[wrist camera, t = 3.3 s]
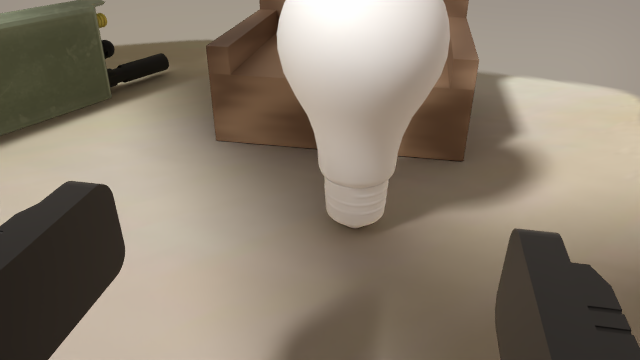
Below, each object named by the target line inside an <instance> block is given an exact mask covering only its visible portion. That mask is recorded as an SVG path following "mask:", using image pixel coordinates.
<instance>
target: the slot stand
mask: <svg viewBox="0 0 640 360" xmlns="http://www.w3.org/2000/svg"><path fill="white" fill-rule="evenodd" d="M443 1H444V3H445V6H446V10H447V15H448V19H449V29H450V41H449V49H448V57H447V60H446V62H445V65H444V68H443V71H442V73H441V76H440V77H439V79H438V81H437V82H436V84H435V85H434V87H433V89H432V90H431V92H430V93H429V95H428V97H427V98H426V100H425V101H424V102H423V104H422V105H421V106H420V108H419V109H418V110H417V112H416V113H415V114H414V116H413V117H412V119H411V121H410V123H409V125H408V127H407V129H406V131H405V133H404V135H403V137H402V140H401V144H400V147H399V150H398V155H397V156H408V157H420V158H432V159H444V160H456V161H463V159H464V152H465V146H466V140H467V133H468V127H469V121H470V114H471V108H472V102H473V95H474V89H475V83H476V76H477V70H478V64H479V59H478V55H477V52H476V49H475V45H474V42H473V38H472V35H471V32H470V28H469V25H468V22H467V19H466V16H467V9H468V1H469V0H443ZM284 2H285V0H260V10H258V11H257V12H255V13H254V14H252V15H251V16H249V17H248V18H246V19H245V20H243V21H242V22H241V23H239V24H238V25H236V26H235V27H233V28H232V29H230V30H229V31H227V32H226V33H224V34H223V35H221V36H220V37H218V38H217V39H216V40H214V41H213V42H211V43H210V44H208V45H207V46H206V51H207V60H208V69H209V78H210V87H211V97H212V106H213V115H214V124H215V134H216V140H218V141H230V142H242V143H254V144H266V145H277V146H289V147H301V148H313V149H317V144H316V139H315V135H314V131H313V128H312V126H311V123H310V121H309V118H308V116H307V114H306V112H305V111H304V109H303V107H302V106H301V104H300V102H299V101H298V99H297V98H296V96H295V94H294V92H293V90H292V88H291V86H290V84H289V82H288V80H287V78H286V77H285V75H284V73H283V69H282V65H281V61H280V57H279V54H278V50H277V30H278V23H279V18H280V14H281V11H282V8H283V5H284Z"/></svg>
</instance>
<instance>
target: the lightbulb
mask: <svg viewBox="0 0 640 360" xmlns="http://www.w3.org/2000/svg"><path fill="white" fill-rule="evenodd" d="M449 41H450V29H449V19H448V15H447V10H446V6H445V3H444V1H443V0H285V2H284V5H283V8H282V11H281V14H280V18H279V23H278V30H277V50H278V54H279V57H280V61H281V65H282V69H283V73H284V75H285V77H286V78H287V80H288V82H289V84H290V86H291V88H292V90H293V92H294V94H295V96H296V98H297V99H298V101H299V102H300V104H301V106H302V107H303V109H304V111H305V112H306V114H307V116H308V118H309V121H310V123H311V126H312V128H313V131H314V135H315V139H316V144H317V149H318V163H319V168H320V171H321V173H322V174H323V175H324V180H325V183H324V189H325V199H326V211H327V213H328V214H329V216H330V217H331V218H332V219H333V220H335V221H336V222H338V223H340V224H343V225H346V226H348V227H351V228H360V227H362V226H366V225H370V224H372V223H374V222H376V221H377V220H378V219H380V218H381V217H382V215H383V213H384V209H385V204H386V196H387V188H388V185H389V183H388V181H389V178H390V177H391V176H392V175H393V173H394V171H395V167H396V161H397V155H398V150H399V147H400V144H401V140H402V137H403V135H404V133H405V131H406V129H407V127H408V125H409V123H410V121H411V119H412V117H413V116H414V114H415V113H416V112H417V110H418V109H419V108H420V106H421V105H422V104H423V102H424V101H425V100H426V98H427V97H428V95H429V93H430V92H431V90H432V89H433V87H434V85H435V84H436V82H437V81H438V79H439V77H440V76H441V73H442V71H443V68H444V65H445V62H446V60H447V57H448V49H449Z"/></svg>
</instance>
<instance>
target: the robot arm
mask: <svg viewBox="0 0 640 360" xmlns="http://www.w3.org/2000/svg"><path fill="white" fill-rule="evenodd" d="M124 257H125V245H124V240H123V236H122V231H121V227H120V223H119V219H118V214H117V210H116V206H115V201H114V197H113V194H112V191H111V190H110V188H109V187H108V186H106V185H104V184H95V183H85V182H75V181H68V182H66V183H64V184H63V185H61V186H60V187H59V188H57V189H56V190H55V191H54V192H52V193H51V194H50V195H49V196H47V197H46V198H45V199H44V200H42V201H41V202H40V203H38V204H36V205H34V206H32V207H30V208H28V209H26V210H24V211H21V212H19V213H17V214H15V215H14V216H13V217H11V218H10V219H9V220H8V221H6V222H5V223H4V224H2V225H1V226H0V360H48V359H49V358H50V357H51V355H52V354H53V353H54V352H55V351H56V349H57V348H58V347H59V346H60V345H61V343H62V342H63V341H64V340H65V338H66V337H67V336H68V335H69V334H70V332H71V331H72V330H73V329H74V327H75V326H76V325H77V324H78V323H79V321H80V320H81V319H82V318H83V316H84V315H85V314H86V313H87V312H88V310H89V309H90V308H91V307H92V305H93V304H94V303H95V302H96V301H97V299H98V298H99V297H100V296H101V294H102V293H103V292H104V291H105V290H106V288H107V287H108V286H109V285H110V283H111V282H112V281H113V280H114V279H115V277H116V276H117V275H118V273H119V272H120V270H121V268H122V265H123V262H124ZM495 323H496V332H497V338H498V345H499V352H500V358H501V360H640V348H639V346H638V343H637V341H636V339H635V337H634V335H631V328H630V326H629V324H628V322H627V320H626V317H625V315H623V314H622V309H621V306H620V304H619V302H618V300H617V298H616V296H615V293H614V291H613V289H612V287H611V286H610V285H609V284H608V283H607V282H606V281H605V280H604V279H603V278H602V277H601V276H600V275H599V274H598V273H597V272H596V271H595V270H594V269H593V268H592V267H591V266H590V265H587V264H578V263H571V262H570V259H569V256H568V254H567V251H566V248H565V246H564V243H563V240H562V238H561V236H560V234H558V233H553V232H544V231H534V230H524V229H514V230H513V231H512V233H511V236H510V240H509V244H508V248H507V253H506V257H505V261H504V266H503V270H502V274H501V279H500V283H499V287H498V292H497V297H496V307H495Z"/></svg>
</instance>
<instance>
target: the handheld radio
mask: <svg viewBox="0 0 640 360" xmlns="http://www.w3.org/2000/svg"><path fill="white" fill-rule="evenodd" d="M104 3H105V2H104V1H102V0H76V1H70V2H65V3H59V4H53V5H47V6H41V7H35V8H30V9H24V10H18V11H12V12H7V13H1V14H0V136H1V135H4V134H7V133H10V132H13V131H15V130H18V129H21V128H24V127H27V126H30V125H33V124H36V123H39V122H42V121H45V120H48V119H51V118H54V117H57V116H60V115H63V114H66V113H69V112H72V111H74V110H77V109H80V108H83V107H86V106H89V105H92V104H95V103H98V102H101V101H104V100H107V99H109V98H111V97H112V95H111V90H110V87H114V86H116V85H117V84H118V83H120V82H128V81H131V80H135V79H138V78H141V77H144V76H147V75H150V74H154V73H157V72H160V71H163V70H166V69H168V67H169V62H168V59H167V57H166V56H165V55H164V54H157V55H154V56H150V57H147V58H143V59H140V60H136V61H133V62H130V63H126V64H123V65H119V66H118V67H117V68H116V69H107V68H106V63H105V59H106V58H108V57H111V56H112V55H113V54H114V46H113V44H112V43H111V42H110V41H107V40H101V37H100V31H99V28H101V27H105V26H106V25H107V19H106V17H105V15H103V14H102V13H98V14H96V10H95V7H96V6H100V5H103V4H104Z"/></svg>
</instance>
